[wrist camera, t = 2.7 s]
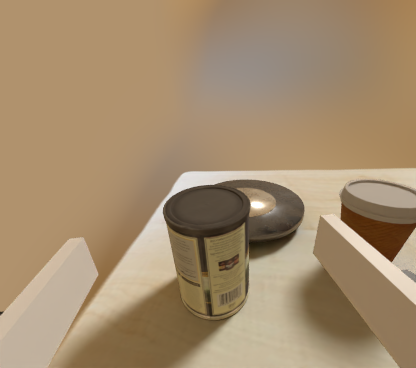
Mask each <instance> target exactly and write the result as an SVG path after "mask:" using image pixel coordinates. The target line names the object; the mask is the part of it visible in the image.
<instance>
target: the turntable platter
mask: <svg viewBox="0 0 416 368" xmlns="http://www.w3.org/2000/svg"><path fill="white" fill-rule="evenodd" d="M215 185H222V186H228V187H232V188H235V189H238V190H240V191H242V192H243V193H244V194H245V195H246V196H247V197H248V198H249V200H250V204H251V208H250V213H249V242H264V241H271V240H275V239H279V238H281V237H284V236H286V235H288V234H290V233H292V232H293V231H294V230H296V229H297V228H298V227H299V226H300V224H301V222H302V220H303V216H304V204H303V202H302V200H301V199H300V198H299V196H298V195H296V194H295V193H294V192H292V191H291V190H289V189H287V188H285V187H283V186H280V185H277V184H274V183H270V182H266V181H259V180H233V181H226V182H222V183H218V184H215Z"/></svg>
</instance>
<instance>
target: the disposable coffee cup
mask: <svg viewBox="0 0 416 368" xmlns="http://www.w3.org/2000/svg"><path fill="white" fill-rule="evenodd" d="M339 195H340V198H341V202H342V204H341V205H342V206H341V221H342V222H344V223H345V224H346V225H347V226H348V227H350V228H351V229H352V230H353V231H354V232H356V233H357V234H358V235H359V236H360V237H362V238H363V239H364V240H365V241H366V242H367V243H369V244H370V245H371V246H372V247H373V248H375V249H376V250H377V251H378V252H379V253H381V254H382V255H383V256H384V257H385V258H386V259H388V260H389V261H390V262H392V261H393V259H394V258H395V257H396V255H397V254H398V252H399V251H400V249H401V248H402V247H403V245H404V243H405V242H406V241H407V239H408V238H409V236H410V235H411V233H412V232H413V230H414V229H415V228H416V189H413V188H411V187H408V186H405V185H402V184H398V183H394V182H389V181H383V180H375V179H358V180H353V181H350V182H348V183H347V184H346V185H345V187H344V188H343V189H342V190H341V191H340V194H339Z"/></svg>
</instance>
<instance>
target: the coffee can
mask: <svg viewBox="0 0 416 368" xmlns="http://www.w3.org/2000/svg"><path fill="white" fill-rule="evenodd" d="M250 208H251V204H250V200H249V198H248V197H247V196H246V195H245V194H244V193H243V192H242V191H240V190H238V189H235V188H232V187H228V186H222V185H204V186H197V187H193V188H189V189H186V190H183V191H181V192H179V193H177V194H175V195H173V196H172V197H171V198H170V199H169V200H168V201H167V202H166V203H165V205H164V208H163V215H164V218H165V221H166V224H167V228H168V233H169V238H170V243H171V248H172V253H173V257H174V262H175V267H176V272H177V277H178V282H179V287H180V295H181V299H182V301H183V303H184V305H185V306H186V308H187V309H188V310H189V311H190V312H191V313H192V314H194V315H196V316H198V317H200V318H203V319H208V320H220V319H224V318H227V317H229V316H231V315H233V314H235V313H236V312H238V311H239V310H240V309H241V308H242V307H243V305H244V304H245V303H246V300H247V298H248V295H249V213H250Z"/></svg>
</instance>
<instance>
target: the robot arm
mask: <svg viewBox="0 0 416 368" xmlns="http://www.w3.org/2000/svg"><path fill="white" fill-rule="evenodd" d="M313 254H314V255H315V256H316V258H317V259H318V260H319V262H320V263H321V264H322V266H323V267H324V268H325V269H326V271H327V272H328V273H329V275H330V276H331V277H332V279H333V280H334V281H335V283H336V284H337V285H338V287H339V288H340V289H341V291H342V292H343V293H344V295H345V296H346V297H347V298H348V300H349V301H350V302H351V304H352V305H353V306H354V308H355V309H356V310H357V312H358V313H359V314H360V316H361V317H362V318H363V320H364V321H365V322H366V324H367V325H368V326H369V327H370V329H371V330H372V331H373V333H374V334H375V335H376V337H377V338H378V339H379V341H380V342H381V343H382V345H383V346H384V347H385V349H386V350H387V351H388V353H389V354H390V355H391V356H392V358H393V359H394V360H395V362H396V363H397V364H398V366H399V367H400V368H416V275H415V274H414V273H412V272H410V271H408V270H400V269H398V268H397V267H396V266H395V265H394V264H392V263H391V262H390V261H389V260H388V259H386V258H385V257H384V256H383V255H382V254H381V253H379V252H378V251H377V250H376V249H375V248H373V247H372V246H371V245H370V244H369V243H367V242H366V241H365V240H364V239H363V238H362V237H360V236H359V235H358V234H357V233H356V232H354V231H353V230H352V229H351V228H350V227H348V226H347V225H346V224H345V223H344V222H342V221H341V220H340V219H339V218H338V217H337V216H335V215H334V214H329V215H320V220H319V225H318V230H317V235H316V240H315V246H314V251H313ZM97 276H98V272H97V269H96V267H95V264H94V262H93V260H92V257H91V255H90V252H89V250H88V247H87V245H86V242H85V240H84V238H83V237H81V238H71V239H68V241H67V242H66V243H65V244H64V245H63V246H62V247H61V248H60V250H59V251H58V252H57V253H56V254H55V255H54V256H53V258H52V259H51V260H50V261H49V262H48V263H47V264H46V265H45V266H44V268H43V269H42V270H41V271H40V272H39V273H38V274H37V275H36V277H35V278H34V279H33V280H32V281H31V282H30V283H29V285H28V286H27V287H26V288H25V289H24V290H23V291H22V292H21V293H20V295H19V296H18V297H17V298H16V299H15V300H14V301H13V302H12V304H11V305H10V306H9V307H8V308H7V309H6V310H5V311H4V312H0V368H47V367H48V366H49V364H50V362H51V360H52V358H53V356H54V355H55V353H56V351H57V349H58V347H59V345H60V344H61V342H62V340H63V338H64V336H65V334H66V333H67V331H68V329H69V327H70V325H71V323H72V322H73V320H74V318H75V316H76V314H77V313H78V311H79V309H80V307H81V305H82V303H83V301H84V300H85V298H86V296H87V294H88V292H89V291H90V289H91V287H92V285H93V283H94V281H95V280H96V278H97Z"/></svg>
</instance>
